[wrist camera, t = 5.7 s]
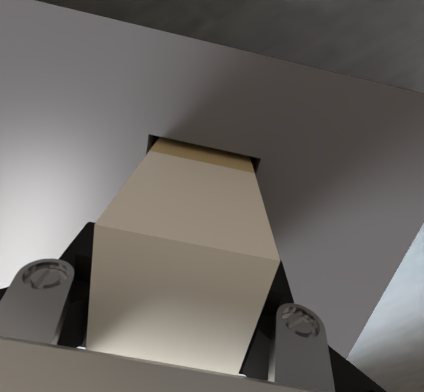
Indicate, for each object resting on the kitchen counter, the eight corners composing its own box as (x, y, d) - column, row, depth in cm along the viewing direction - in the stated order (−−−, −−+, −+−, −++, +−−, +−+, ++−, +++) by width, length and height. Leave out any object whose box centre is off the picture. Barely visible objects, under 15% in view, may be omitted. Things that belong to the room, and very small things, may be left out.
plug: (246, 145, 15) (280, 260, 7) (219, 245, 18) (219, 425, 9) (166, 127, 15) (94, 224, 6) (150, 232, 18) (81, 403, 9)
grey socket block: (412, 94, 16) (488, 108, 12) (318, 298, 22) (344, 361, 17) (20, -1, 15) (-68, -25, 10) (28, 243, 21) (-26, 296, 16)
